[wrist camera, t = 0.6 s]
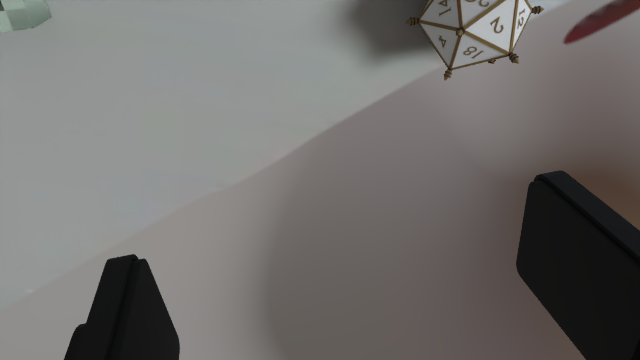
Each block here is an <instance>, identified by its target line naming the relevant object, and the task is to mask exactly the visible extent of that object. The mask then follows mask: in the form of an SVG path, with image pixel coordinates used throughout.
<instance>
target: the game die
mask: <svg viewBox="0 0 640 360" xmlns="http://www.w3.org/2000/svg"><path fill="white" fill-rule="evenodd" d="M543 10H544V9H543V8H542V7H540V6H536V7H534V8H532V7H531V6H530V4H529V2H528V1H527V0H428V2H427V4H426V5H425V7H424V9H423V11H422V12H421V14H420V16H419V17H418V18H417V19H416V18H411V17H410V19H409V20H407V21H406V23H408V24H410V25H412V24H413V25H415V24H416V23H418V24H419V26H420V27H421V29H422V30H423V32H424V33H425V35H426V36H427V38H428V39H429V41H430V42H431V44H432V45H433V47H434V48H435V50H436V51H437V53H438V54H439V56H440V57H441V59H442V60H443V62H444V63H445V65H446V66H447V67H448V69H447V71H445V74H444V79H445V80H447V79H448V78H450V76H451V74H452V73H451V72H452V70H454V69H458V68H462V67H466V66H470V65H475V64H479V63H482V62H486V61H488V63H492V64H494V62H495V61H496V60H495V59H499V58H503V57H507V56H509V59H510V60H511V62H512V63H513V62H514V63H518V56H516V54H513V53H512V52H513V50H514V47H515V46H516V43H517V41H518V39H519V37H520V35H521V33H522V31H523V29H524V27H525V25H526V23H527V21H528V19H529V17H530V14H531V13H534V14H536V13H538V14H539V13H540V12H541V11H543Z"/></svg>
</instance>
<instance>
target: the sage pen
mask: <svg viewBox="0 0 640 360" xmlns="http://www.w3.org/2000/svg"><path fill="white" fill-rule="evenodd" d="M1 3H2V4H0V32H7V31H15V30H23V29H31V28H35V27H36V26H38V25H40V24H41V23H43V22H44V21H46V20H48V19H49V18H51V15H50V12H49V9H48V7H47V4H46V1H45V0H1Z"/></svg>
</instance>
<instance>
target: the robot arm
mask: <svg viewBox="0 0 640 360" xmlns="http://www.w3.org/2000/svg"><path fill="white" fill-rule="evenodd" d="M516 266H517V271H518V273H519V275H520V277H521V278H522V279H523V281H524V282H525V283H526V284H527V286H528V287H529V288H530V289H531V291H532V292H533V293H534V295H535V296H536V297H537V298H538V300H539V301H540V302H541V303H542V305H543V306H544V307H545V308H546V309H547V311H548V312H549V313H550V315H551V316H552V317H553V318H554V320H555V321H556V322H557V323H558V325H559V326H560V327H561V329H562V330H563V331H564V332H565V334H566V335H567V336H568V337H569V339H570V340H571V341H572V342H573V344H574V345H575V346H576V347H577V349H578V350H579V351H580V352H581V354H582V355H583V356H584V358H585V359H586V360H640V231H639V230H638V229H637V228H635V227H634V226H633V225H632V224H630V223H629V222H628V221H627V220H625V219H624V218H623V217H622V216H620V215H619V214H618V213H616V212H615V211H614V210H613V209H611V208H610V207H609V206H608V205H606V204H605V203H604V202H603V201H601V200H600V199H599V198H597V197H596V196H595V195H594V194H592V193H591V192H589V191H588V190H587V189H586V188H585V187H584V186H582V185H581V184H580V183H578V182H577V181H576V180H575V179H573V178H572V177H571V176H570V175H568V174H567V173H566V172H564V171H554V172H550V173H544V174H540V175H537V176H536V177H535V179H534V182H531V183H530V184H529V187H528V192H527V199H526V205H525V211H524V217H523V223H522V230H521V236H520V242H519V248H518V255H517V261H516ZM179 350H180V345H179V339H178V335H177V333H176V330H175V328H174V326H173V323H172V320H171V318H170V316H169V313H168V311H167V308H166V306H165V303H164V301H163V299H162V296H161V294H160V292H159V289H158V287H157V284H156V282H155V279H154V277H153V275H152V272H151V270H150V267H149V265H148V262H147V261H146V259H138V257H137V256H136V255H134V254H132V255H127V256H122V257H117V258H112V259H108V260H107V262H106V264H105V267H104V270H103V273H102V276H101V279H100V282H99V285H98V289H97V292H96V294H95V297H94V301H93V304H92V307H91V310H90V313H89V316H88V319H87V322H86V323H85V324H81V325H79V326H78V327H77V328H76V329H75V331H74V333H73V336H72V338H71V341H70V344H69V347H68V350H67V352H66V355H65V358H64V360H179V353H180V351H179Z"/></svg>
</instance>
